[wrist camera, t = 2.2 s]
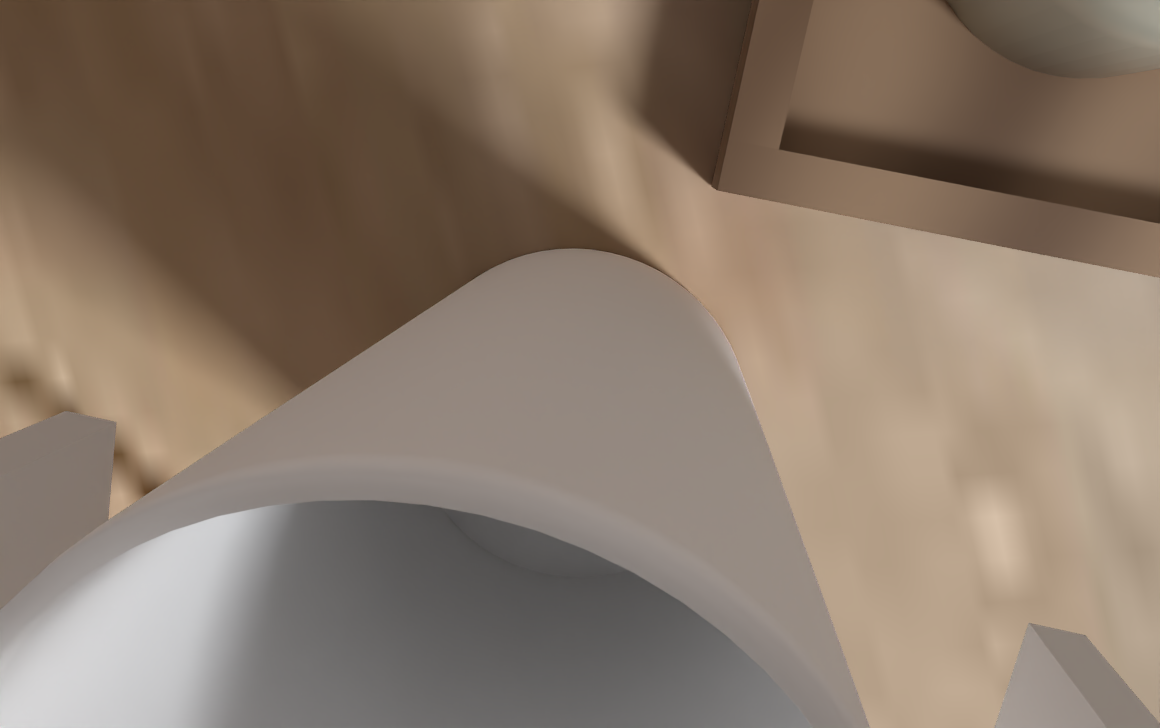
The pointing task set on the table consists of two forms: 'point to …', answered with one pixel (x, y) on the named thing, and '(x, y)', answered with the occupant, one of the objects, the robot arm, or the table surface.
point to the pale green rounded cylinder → (1068, 34)
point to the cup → (460, 541)
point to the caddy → (941, 133)
